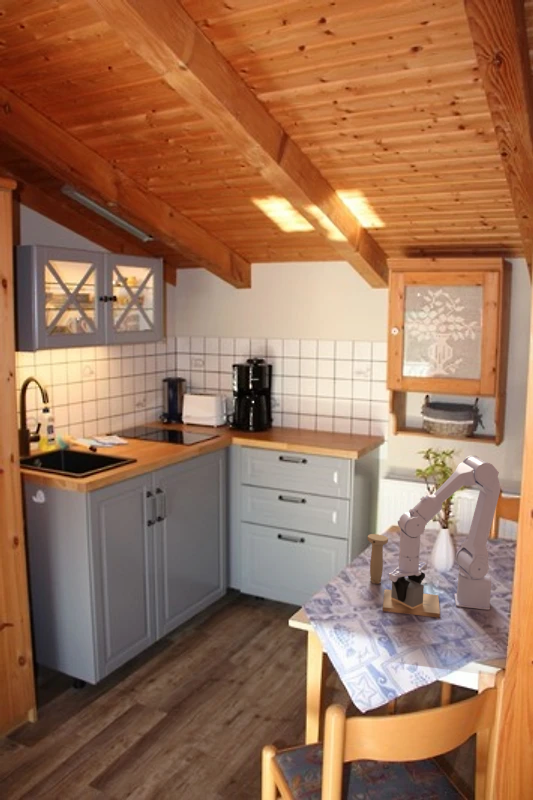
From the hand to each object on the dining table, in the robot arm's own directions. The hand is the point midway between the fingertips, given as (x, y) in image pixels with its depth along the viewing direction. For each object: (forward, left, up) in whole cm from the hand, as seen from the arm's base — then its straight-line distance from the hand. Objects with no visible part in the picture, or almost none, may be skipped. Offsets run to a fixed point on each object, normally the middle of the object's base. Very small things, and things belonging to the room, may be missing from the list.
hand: (407, 598), depth 195 cm
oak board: (-1, -1, -2) cm, 3 cm away
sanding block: (0, 0, -1) cm, 1 cm away
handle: (+10, -14, -3) cm, 17 cm away
